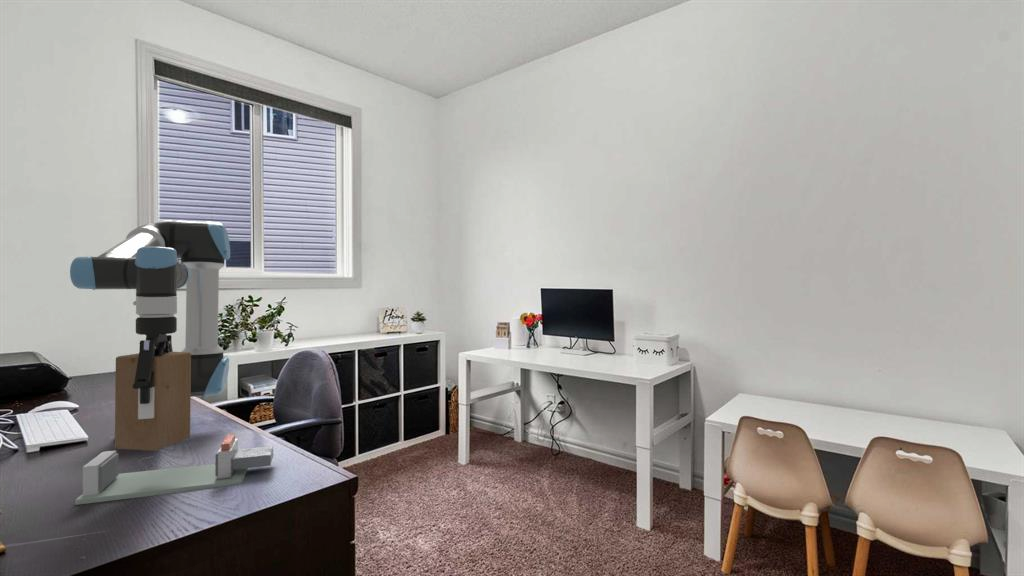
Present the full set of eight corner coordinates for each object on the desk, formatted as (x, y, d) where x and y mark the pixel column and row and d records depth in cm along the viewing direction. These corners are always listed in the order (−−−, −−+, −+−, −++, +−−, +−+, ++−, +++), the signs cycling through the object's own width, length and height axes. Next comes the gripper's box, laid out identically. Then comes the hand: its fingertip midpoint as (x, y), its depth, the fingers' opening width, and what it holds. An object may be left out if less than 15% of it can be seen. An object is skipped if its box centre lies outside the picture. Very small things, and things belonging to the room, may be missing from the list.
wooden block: (155, 451, 107) (156, 357, 107) (113, 449, 108) (114, 356, 108) (191, 437, 117) (192, 352, 117) (152, 435, 118) (153, 350, 118)
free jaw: (223, 464, 121) (223, 433, 121) (273, 458, 125) (273, 429, 125) (214, 479, 112) (215, 446, 112) (269, 472, 116) (269, 440, 116)
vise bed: (103, 479, 115) (103, 449, 115) (250, 464, 125) (250, 436, 125) (75, 504, 102) (75, 470, 102) (241, 484, 112) (241, 453, 112)
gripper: (154, 313, 123) (154, 400, 123) (114, 319, 99) (114, 427, 99) (189, 313, 125) (189, 398, 125) (159, 318, 102) (159, 423, 102)
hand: (156, 411), depth 112 cm, fingers closed on wooden block, 13 cm apart
